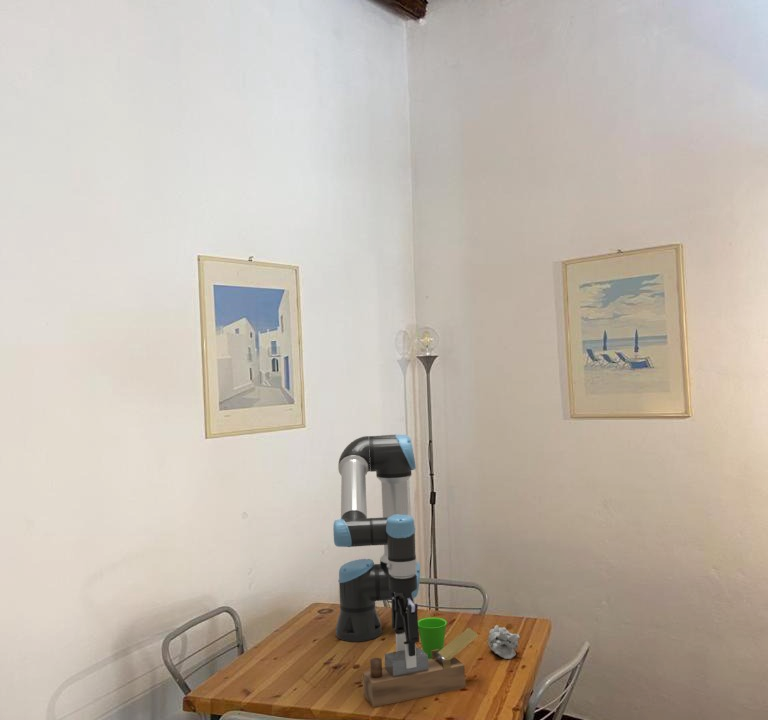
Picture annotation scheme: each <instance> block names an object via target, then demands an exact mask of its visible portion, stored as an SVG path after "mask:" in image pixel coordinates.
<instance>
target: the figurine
mask: <svg viewBox="0 0 768 720" xmlns="http://www.w3.org/2000/svg"><path fill="white" fill-rule="evenodd" d="M519 639H521V637H520V635H519V634H518V633H511V632H509V630H507V628H506V627H500V626H499V625H498V624H496V625H494V628H491V629H490V630H488V639H487V642H488V643H487V644H488V647H489V648H490V650H491V651H493V652H494V654H495V655H498V656H499V657H500V658H502V659H505V660H507V659H508V660H512V659H513V658H514V657H515V656H516V655H517V653H516V651H515V650H517V649H518V647H519V643H518V642H519Z"/></svg>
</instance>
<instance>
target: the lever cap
mask: <svg viewBox="0 0 768 720" xmlns="http://www.w3.org/2000/svg"><path fill="white" fill-rule="evenodd" d="M416 665H417V667H413V668H408V669H407V668H406V658H405V650H403V651H397V652H396V651H393V652H388V653H387V652H386V653H384V668H385V669H386V670H387V671H388V673H389V674H390V675H391V676H392V677H398V676H403V675H408V674H413V673H418V672H423V671H428V670H429V668H428V655H427V654H426V653H425V652H424V651H423V649H421V647H416Z"/></svg>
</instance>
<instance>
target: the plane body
mask: <svg viewBox="0 0 768 720" xmlns="http://www.w3.org/2000/svg"><path fill="white" fill-rule="evenodd" d="M431 652H432V659H428V668H429V670H428V671H423V672H418V673H413V674H408V675H403V676H398V677H392V676H391V675H390V674H389V673H388V671H387V670H386V669H385V667H383V663H382V661H383V660H382V658H380V657H372V658H371V659H370V660H369V661H370V663H369V664H370V669H369V670H364V671H362V685H363V686H362V687H363V688H362V689H363V696H364V697H365V698H366V700H367V701H368V702H369V704H370V705H371V706H372V707H373V708H377V707H380V706H386V705H391V704H395V703H399V702H400V703H401V702H405V701H409V700H410V701H411V700H414V699H418V698H424V697H429V696H433V695H438V694H442V693H448V692H451V691H452V692H453V691H457V690H462V689H466V671H465V669H466V668H465V664H464V663H462V662H461V661H460V660H459V659H458V658H456V657H455V656H454V657H452V658H451V659H445V660H443V663H442V662H441V661H439V660H438V659H437V658H436V657H435V656H434V653H435V652H439V650H438V649H437V650H431Z"/></svg>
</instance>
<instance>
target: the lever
mask: <svg viewBox="0 0 768 720" xmlns="http://www.w3.org/2000/svg"><path fill="white" fill-rule="evenodd" d="M478 637H479V634H478V632H476V631H474V630H473V629H471V628H470V627H467V628H466V629H465V630H464V631H462V632H461V633H460V634H459V635H457V636H456V637H455V638H454V639H452V640H451V641H450V642H449V643H448V644H446V645H444V647H443V648H442V649H441V650H440V651H439V652H435V653H434V656H435V657H436V658H437V659H438V660H439V661H441V662H442V663H443V660H445V659H451V658H452V657H455V656H456V655H457V654H459V653H460V652H462V651H463V650H464V649H465V648H466V647H468V646H469V645H470V644H471V643H472V642H473V641H474V640H476V639H477V638H478Z"/></svg>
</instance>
